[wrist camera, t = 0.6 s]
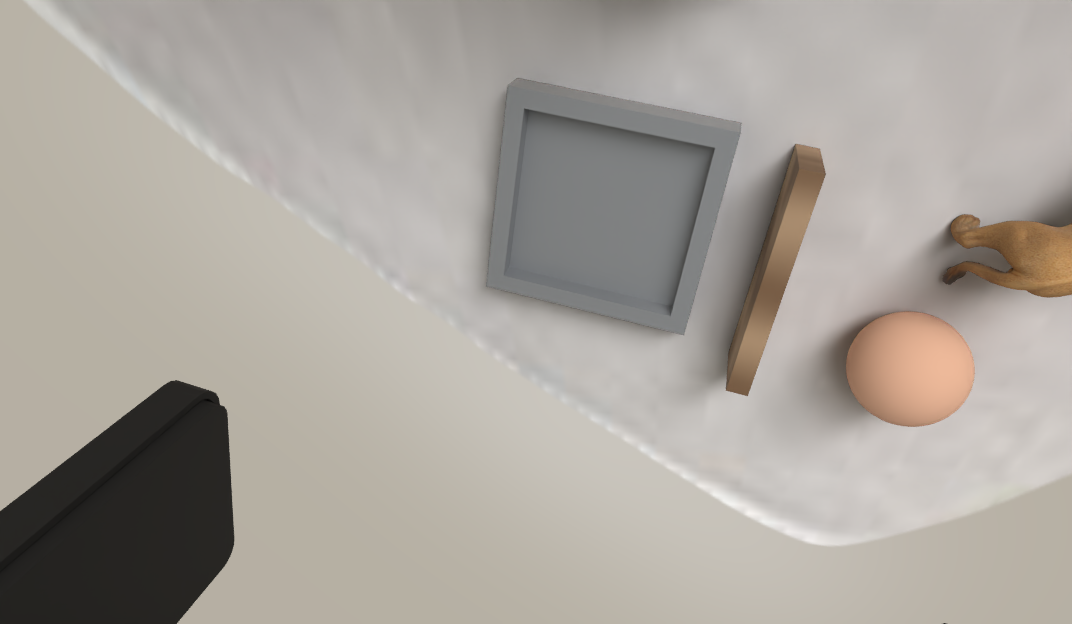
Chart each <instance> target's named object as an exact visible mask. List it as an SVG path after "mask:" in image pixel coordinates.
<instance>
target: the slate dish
mask: <svg viewBox="0 0 1072 624" xmlns="http://www.w3.org/2000/svg"><path fill="white" fill-rule="evenodd" d="M740 133H741V123H739V122H734V121H729V120H724V119H719V118H714V117H709V116H704V115H699V114H694V113H689V112H684V111H679V110H674V109H669V108H664V107H659V106H654V105H649V104H644V103H639V102H634V101H629V100H624V99H619V98H614V97H609V96H604V95H599V94H594V93H589V92H584V91H579V90H574V89H569V88H564V87H559V86H554V85H549V84H544V83H539V82H534V81H529V80H524V79H519V78H517V79H516V80H514V81H513V82H512V83H510V84H509V85H508V89H507V98H506V107H505V116H504V125H503V135H502V144H501V153H500V162H499V172H498V181H497V190H496V199H495V209H494V218H493V227H492V236H491V246H490V255H489V264H488V273H487V282H486V286H487V287H491V288H495V289H499V290H503V291H507V292H511V293H515V294H519V295H523V296H527V297H531V298H535V299H539V300H544V301H548V302H552V303H556V304H560V305H564V306H568V307H572V308H576V309H580V310H584V311H588V312H592V313H596V314H600V315H604V316H608V317H612V318H616V319H620V320H624V321H628V322H632V323H637V324H641V325H645V326H649V327H653V328H657V329H661V330H665V331H669V332H673V333H677V334H681V335H684V333H685V329H686V326H687V322H688V319H689V315H690V312H691V308H692V304H693V301H694V297H695V294H696V290H697V287H698V283H699V279H700V276H701V272H702V269H703V265H704V262H705V258H706V254H707V251H708V247H709V244H710V240H711V237H712V233H713V229H714V226H715V222H716V219H717V215H718V212H719V208H720V204H721V201H722V197H723V194H724V190H725V187H726V183H727V179H728V176H729V172H730V169H731V165H732V162H733V158H734V154H735V151H736V147H737V144H738V140H739V137H740Z"/></svg>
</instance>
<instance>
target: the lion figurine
mask: <svg viewBox="0 0 1072 624" xmlns="http://www.w3.org/2000/svg"><path fill="white" fill-rule="evenodd" d="M979 225H980V220H979V218H976V217H974V216H973V215H966V214H964V215H960V216H959V217H957V218H956V219H955V220H954V221H953V222H952V224H951V233H952V236H953V238H954V239H955V241H957V242H958V243H959V244H960V245H962V246H963V247H965V248H973V247H978V246H981V247H988V248H992V249H996V250H997V251H999V252H1000V253H1001V254H1002V255H1003V256H1004V258H1005V259H1006V260H1007V262H1008V263H1009V264H1010V265H1011V266H1012V267H1013V268H1011V269H1010V270H1009V271H1008V272H1006V273H1004V272H1002V271H999V270H996V269H994V268H991V267H988V266H985V265H982V264H980V263H975V262H969V261H966V262H962V263H961V264H958V265H956V266H954V267H951V268H949V269H948V270H947V272H946V273H945V275H944V276H943V282H945V283H946V284H948V285H950V284H952V283H953V282H955V281H956V280H957V279H959V278H961V277H963V276H964V275H965V274H966V272H967V271H970V272H972V273H974V274H976V275H978V276H980V277H982V278H984V279H986V280H988V281H989V282H992V283H994V284H997V285H1000V286H1004V287H1007V288H1011V289H1016V290H1027V291H1028V292H1030V293H1032V294H1034V295H1037V296H1041V297H1061V296H1066V295H1072V223H1071V224H1069V225H1066V226H1063V227H1053V226H1048V225H1045V224H1042V223H1038V222H1030V221H1007V222H1002V223H997V224H993V225H989V226H985V227H981V228H979Z"/></svg>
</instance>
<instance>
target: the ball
mask: <svg viewBox="0 0 1072 624" xmlns="http://www.w3.org/2000/svg"><path fill="white" fill-rule="evenodd" d="M846 374H847V379H848V383H849V385H850V388H851V390H852V392H853V394H854V396H855V397H856V399H857V400H858V401H859V403H860V404H861V405H862V406H863V407H864V408H865V409H866V410H867V411H869V412H870V413H871V414H873V415H874V416H876V417H878V418H880V419H881V420H884V421H886V422H889V423H892V424H896V425H900V426H908V427H917V426H925V425H930V424H933V423H936V422H939V421H941V420H943V419H945V418H947V417H948V416H950V415H951V414H953V413H954V412H955V411H956V410H958V409H959V408H960V407H961V405H962V404H963V403H964V402H965V400H966V399H967V397H968V395H969V393H970V391H971V389H972V385H973V381H974V374H975V368H974V360H973V357H972V353H971V351H970V348H969V346H968V345H967V343H966V341H965V340H964V338H963V337H962V336H961V335H960V334H959V333H958V332H957V331H956V330H955V329H954V328H953V327H952V326H951V325H949V324H948V323H946V322H945V321H943V320H941V319H939V318H937V317H934V316H932V315H929V314H925V313H919V312H910V311H907V312H896V313H891V314H887V315H885V316H882V317H880V318H878V319H876V320H874V321H872V322H871V323H869V324H868V325H867V326H866V327H864V328H863V329H862V330H861V331H860V332H859V333H858V335H857V336H856V337H855V339H854V341H853V342H852V344H851V346H850V349H849V352H848V355H847V361H846Z"/></svg>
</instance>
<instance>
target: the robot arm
mask: <svg viewBox="0 0 1072 624" xmlns="http://www.w3.org/2000/svg"><path fill="white" fill-rule="evenodd" d="M230 473H231V472H230V453H229V435H228V417H227V410H226V409H225V407H224V406H221V405H220V403H219V398H218V396H217V395H216V393H214V392H212V391H209V390H206V389H203V388H200V387H196V386H193V385H190V384H187V383H184V382H180V381H177V380H176V381H170V382H169V383H167V384H165V385H163V386H162V387H161V388H160V389H158V390H157V391H156V392H155V393H153V394H152V395H151V396H149V397H148V398H147V399H145V400H144V401H143V402H141V403H140V404H139V405H137V406H136V407H135V408H134V409H132V410H131V411H130V412H128V413H127V414H126V415H125V416H123V417H122V418H121V419H119V420H118V421H117V422H116V423H114V424H113V425H112V426H110V427H109V428H108V429H107V430H105V431H104V432H103V433H101V434H100V435H99V436H98V437H96V438H95V439H93V440H92V441H91V442H89V443H88V444H87V445H86V446H84V447H83V448H82V449H80V450H79V451H78V452H77V453H75V454H74V455H73V456H71V457H70V458H69V459H67V460H66V461H65V462H64V463H62V464H61V465H60V466H58V467H57V468H56V469H55V470H53V471H52V472H51V473H49V474H48V475H47V476H46V477H44V478H43V479H41V480H40V481H39V482H38V483H36V484H35V485H34V486H33V487H31V488H30V489H29V490H28V491H26V492H25V493H23V494H22V495H21V496H19V497H18V498H17V499H16V500H14V501H13V502H12V503H10V504H9V505H8V506H7V507H5V508H4V509H3V510H1V511H0V624H177V622H178V621H179V620H180V619H181V618H182V617H183V615H184V614H185V613H186V612H187V611H188V609H189V608H190V607H191V606H192V605H193V603H194V602H195V601H196V600H197V599H198V597H199V596H200V595H201V594H202V592H203V591H204V590H205V589H206V588H207V587H208V585H209V584H210V583H211V582H212V581H213V579H214V578H215V577H216V576H217V575H218V573H219V572H220V571H221V570H222V568H223V567H224V566H225V564H226V563H227V561H228V559H229V557H230V555H231V553H232V549H233V546H234V527H233V508H232V490H231V474H230ZM944 624H946V623H944Z"/></svg>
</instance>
